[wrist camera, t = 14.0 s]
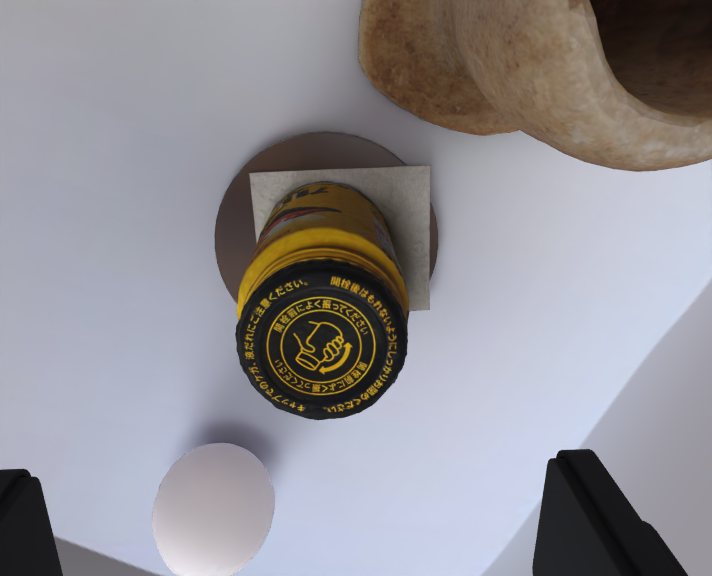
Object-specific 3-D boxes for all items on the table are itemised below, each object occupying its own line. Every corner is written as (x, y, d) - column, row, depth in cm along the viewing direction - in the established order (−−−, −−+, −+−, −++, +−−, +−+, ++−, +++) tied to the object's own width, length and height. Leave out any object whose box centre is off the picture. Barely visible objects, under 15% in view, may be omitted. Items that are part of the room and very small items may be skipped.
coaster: (206, 131, 27) (204, 132, 27) (442, 130, 27) (444, 132, 27) (225, 345, 31) (223, 349, 30) (431, 341, 31) (433, 345, 31)
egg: (211, 399, 32) (177, 493, 25) (300, 454, 33) (292, 557, 26) (152, 472, 33) (104, 581, 26) (240, 521, 35) (218, 637, 28)
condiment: (249, 172, 27) (193, 244, 16) (429, 164, 27) (499, 230, 16) (264, 315, 30) (224, 464, 19) (428, 307, 30) (487, 449, 19)
